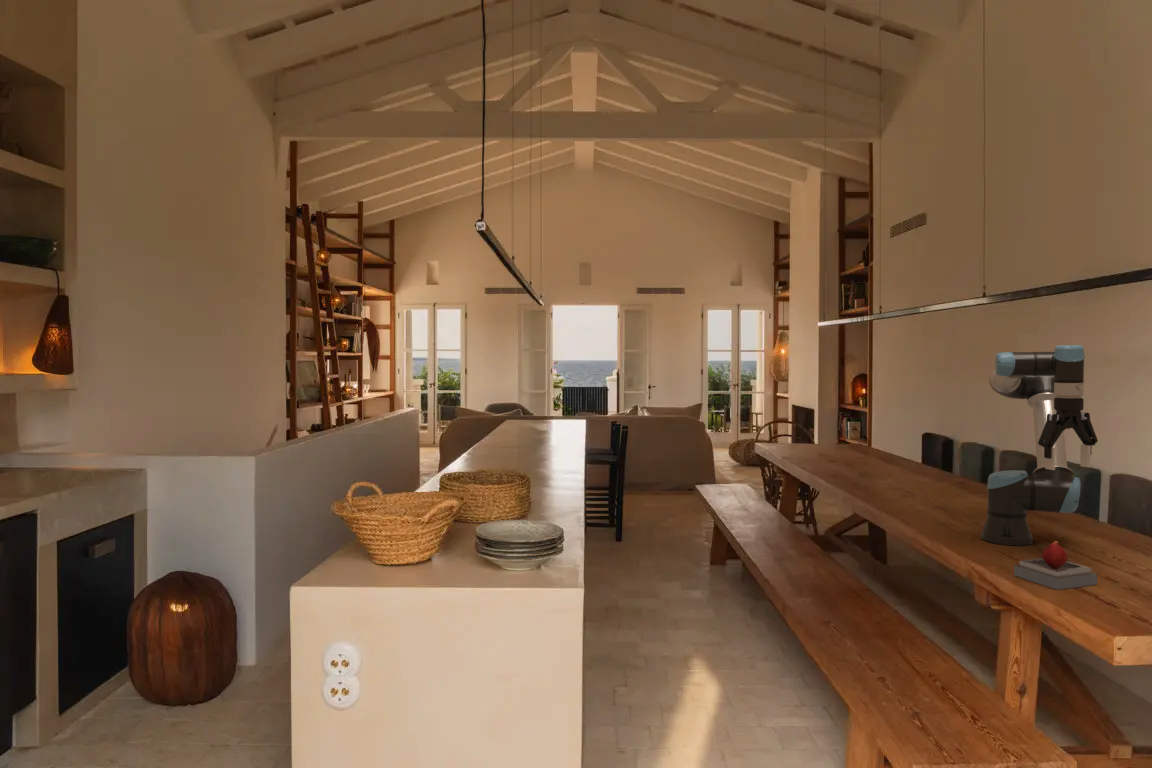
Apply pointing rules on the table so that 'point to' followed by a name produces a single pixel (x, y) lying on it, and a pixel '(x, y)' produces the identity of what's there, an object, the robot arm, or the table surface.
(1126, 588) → the table surface
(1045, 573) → the silver shallow square tray
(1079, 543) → the table surface
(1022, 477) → the robot arm
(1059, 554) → the onion
